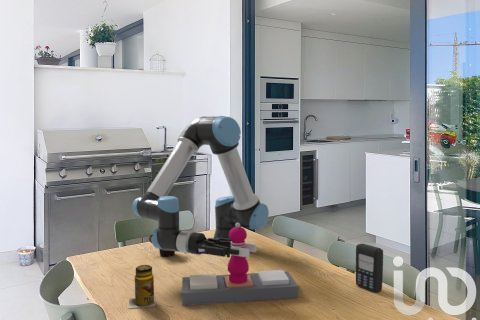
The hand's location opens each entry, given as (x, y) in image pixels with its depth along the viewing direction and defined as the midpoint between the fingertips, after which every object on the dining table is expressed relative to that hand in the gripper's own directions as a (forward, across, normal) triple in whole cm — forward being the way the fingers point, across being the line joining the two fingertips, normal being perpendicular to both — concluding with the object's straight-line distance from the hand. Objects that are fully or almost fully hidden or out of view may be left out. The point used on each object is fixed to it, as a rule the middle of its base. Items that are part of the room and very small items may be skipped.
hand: (252, 250), depth 143 cm
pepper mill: (-5, 0, -11) cm, 12 cm away
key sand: (-15, +6, -13) cm, 21 cm away
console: (-5, 0, -16) cm, 16 cm away
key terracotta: (-5, 0, -14) cm, 15 cm away
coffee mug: (-53, -26, -16) cm, 61 cm away
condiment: (-31, +19, -16) cm, 40 cm away
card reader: (+35, -21, -16) cm, 44 cm away
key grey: (+5, -6, -13) cm, 15 cm away
